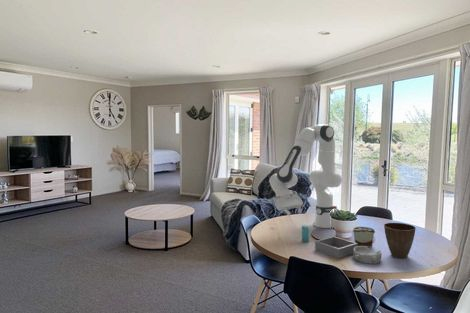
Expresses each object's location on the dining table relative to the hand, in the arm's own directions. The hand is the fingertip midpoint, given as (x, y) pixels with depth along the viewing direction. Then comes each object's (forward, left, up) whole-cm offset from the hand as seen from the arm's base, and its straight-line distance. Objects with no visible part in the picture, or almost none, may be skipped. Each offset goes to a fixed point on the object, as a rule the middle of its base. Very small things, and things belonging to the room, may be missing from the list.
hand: (295, 213), depth 206 cm
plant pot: (-22, +55, -16) cm, 61 cm away
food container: (-22, +33, -16) cm, 42 cm away
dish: (-4, +48, -16) cm, 50 cm away
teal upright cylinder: (0, +9, -15) cm, 18 cm away
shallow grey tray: (-1, +31, -15) cm, 34 cm away
